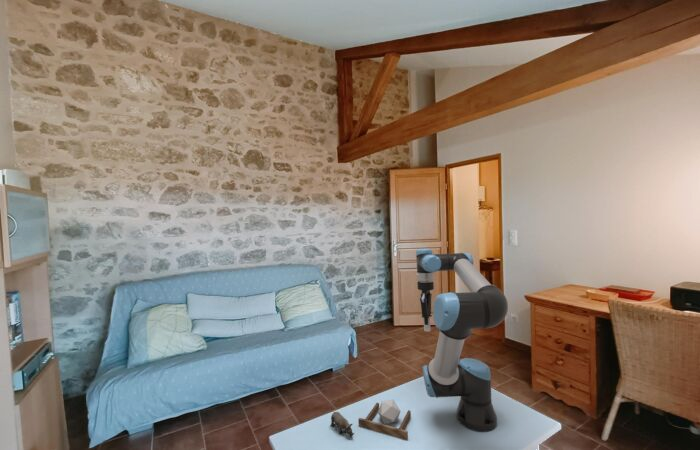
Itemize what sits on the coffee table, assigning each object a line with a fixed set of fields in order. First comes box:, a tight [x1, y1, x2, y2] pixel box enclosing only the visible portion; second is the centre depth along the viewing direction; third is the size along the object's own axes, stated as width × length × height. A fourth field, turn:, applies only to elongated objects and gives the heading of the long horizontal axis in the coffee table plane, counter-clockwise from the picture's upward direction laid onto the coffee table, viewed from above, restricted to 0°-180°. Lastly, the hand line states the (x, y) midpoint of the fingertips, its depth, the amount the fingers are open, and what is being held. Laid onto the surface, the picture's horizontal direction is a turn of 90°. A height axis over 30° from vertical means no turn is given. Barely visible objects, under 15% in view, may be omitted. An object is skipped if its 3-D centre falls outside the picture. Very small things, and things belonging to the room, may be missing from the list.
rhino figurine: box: [330, 411, 355, 438], centre depth 124 cm, size 4×14×6 cm, turn 38°
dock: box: [358, 402, 412, 441], centre depth 128 cm, size 20×14×3 cm
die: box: [377, 399, 401, 425], centre depth 130 cm, size 8×9×10 cm
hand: (427, 330), depth 151 cm, fingers closed
